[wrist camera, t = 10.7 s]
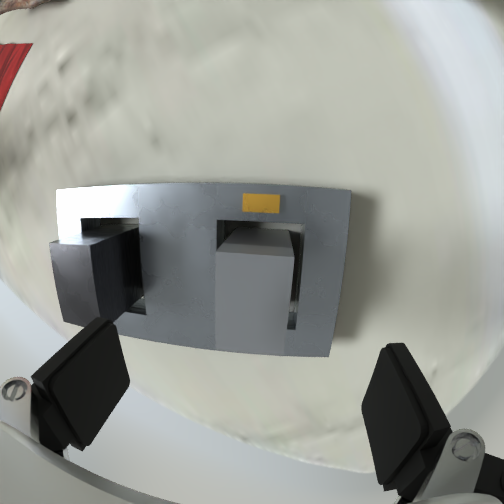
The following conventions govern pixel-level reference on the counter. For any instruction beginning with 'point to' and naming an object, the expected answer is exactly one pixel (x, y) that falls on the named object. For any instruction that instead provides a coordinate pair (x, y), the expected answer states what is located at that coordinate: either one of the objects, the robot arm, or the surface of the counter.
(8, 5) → the stone
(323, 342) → the power strip
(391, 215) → the counter surface
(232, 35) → the counter surface
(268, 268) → the plug
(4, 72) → the figurine
